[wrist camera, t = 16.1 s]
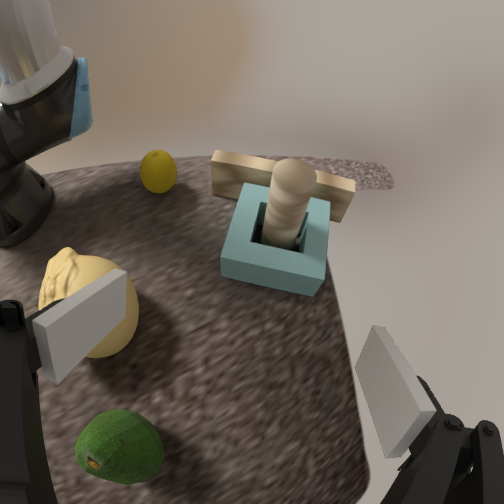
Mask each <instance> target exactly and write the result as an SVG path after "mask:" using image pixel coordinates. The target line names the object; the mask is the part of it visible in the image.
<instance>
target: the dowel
mask: <svg viewBox="0 0 504 504" xmlns="http://www.w3.org/2000/svg"><path fill="white" fill-rule="evenodd" d="M316 181H317V174H316V172H315V170H314V169H313V168H312V167H311V166H310V165H309V164H307V163H306V162H303V161H301V160H297V159H284V160H281V161H279V162H277V163H276V164H275V166H274V168H273V173H272V179H271V185H270V190H269V196H268V202H267V207H266V213H265V219H264V224H263V230H262V236H261V241H260V244H262V245H267V246H271V247H276V248H280V249H285V250H289V251H292V249H293V246H294V244H295V241H296V238H297V235H298V232H299V230H300V227H301V224H302V221H303V218H304V216H305V213H306V210H307V207H308V204H309V201H310V198H311V195H312V192H313V189H314V187H315V184H316Z"/></svg>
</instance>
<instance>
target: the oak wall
mask: <svg viewBox="0 0 504 504" xmlns="http://www.w3.org/2000/svg"><path fill="white" fill-rule="evenodd" d="M277 162H278V161H273V160H269V159H264V158H259V157H254V156H248V155H243V154H237V153H231V152H225V151H220V150H216V151H215V153H214V155H213V157H212V159H211V176H212V195H217V196H222V197H228V198H232V199H237V200H239V197H240V194H241V191H242V188H243V185H244V182H245V183H250V184H255V185H260V186H265V187H269V188H270V185H271V179H272V173H273V168H274V166H275V164H276V163H277ZM315 172H316V174H317V181H316V184H315V187H314V189H313V192H312V195H311V197H313V198H317V199H321V200H325V201H329V202H330V218H329V220H330V221H334V222H338V223H340V222H341V220H342V218H343V215H344V214H345V212H346V210H347V208H348V206H349V204H350V202H351V200H352V198H353V196H354V194H355V181H354V180H351V179H347V178H344V177H340V176H336V175H333V174H329V173H325V172H321V171H317V170H315Z"/></svg>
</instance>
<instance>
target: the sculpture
mask: <svg viewBox="0 0 504 504" xmlns="http://www.w3.org/2000/svg"><path fill="white" fill-rule="evenodd" d="M115 268H116V269H119V270H123V269H122V268H120V267H119V266H118V265H116V264H115V263H113V262H111V261H109V260H107V259H105V258H101V257H97V256H86V255H78V254H77V253H76V252H75V251H74V250H73V249H72V248H70V247H66V248H63V249H62V250H60V251H59V252H58V254H57V255H56V256H54V257H53V258H51V259H50V260H49V262H48V264H47V269H46V273H45V277H44V280H43V282H42V286H41V290H40V295H39V310H41V309H42V308H44V307H45V306H46V307H47V305H48V304H50V303H52V302H53V301H56V300H59V299H63V298H65V299H66V298H67V297H69V296H71V295H72V294H74V293H75V292H77V291H79V290H80V289H82V288H83V287H85V286H87V285H88V284H90V283H92V282H93V281H95V280H97V279H98V278H100V277H101V276H103V275H105V274H107V273H108V272H110V271H112V270H113V269H115ZM123 271H124V270H123ZM138 317H139V304H138V298H137V294H136V290H135V288H134V285H133V283H132V281H131V279H130V278H129V276H128V275H127V286H126V317H125V318H124V319H123V320H122V321H121V322H120V323H119V324H118V325H117V326H116V327H115V328H114V329H113V330H112V331H111V332H110V333H109V334H108V335H107V336H105V337H104V338H103V339H102V340H101V341H100V342H99V343H98V344H97V345H96V346H95V347H94V348H93V349H92V350H91V351H90V352H89V353H88V354H87V355H86V356H85V357H87V358H102V357H107V356H110V355H113V354H115V353H117V352H119V351H120V350H122V349H123V348H124V347H125V346H126V345H127V344H128V343H129V342H130V340H131V339H132V337H133V335H134V333H135V330H136V327H137V324H138Z"/></svg>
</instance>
